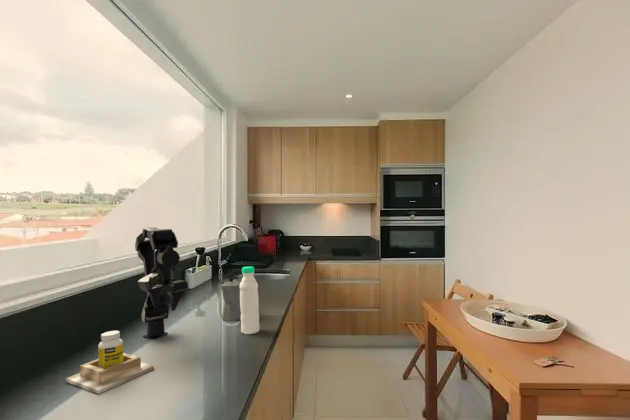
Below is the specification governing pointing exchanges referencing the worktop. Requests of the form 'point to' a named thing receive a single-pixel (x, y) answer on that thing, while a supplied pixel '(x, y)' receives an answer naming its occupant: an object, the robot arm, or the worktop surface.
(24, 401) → the worktop surface
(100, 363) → the pill bottle
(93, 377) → the socket
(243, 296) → the water bottle
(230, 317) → the coffeepot
